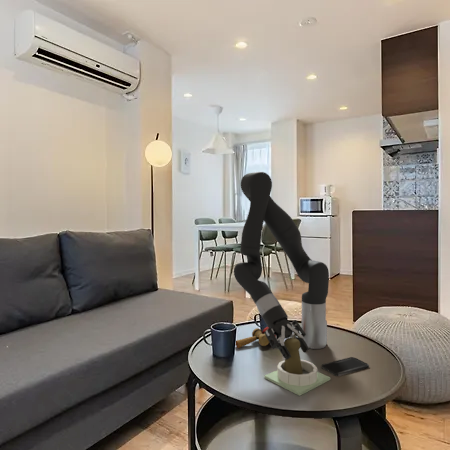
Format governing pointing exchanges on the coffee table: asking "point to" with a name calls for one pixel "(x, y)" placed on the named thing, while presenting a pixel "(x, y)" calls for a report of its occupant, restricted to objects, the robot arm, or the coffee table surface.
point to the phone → (345, 366)
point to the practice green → (298, 378)
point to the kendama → (254, 338)
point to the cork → (293, 357)
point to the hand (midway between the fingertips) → (298, 354)
